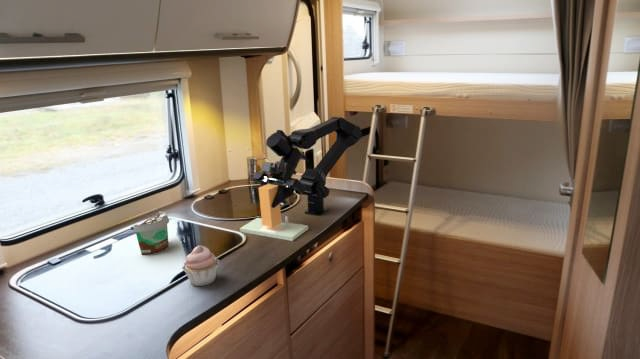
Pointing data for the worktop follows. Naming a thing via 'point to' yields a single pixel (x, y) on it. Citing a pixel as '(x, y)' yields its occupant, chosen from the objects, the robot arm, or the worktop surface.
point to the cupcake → (201, 266)
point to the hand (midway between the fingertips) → (267, 206)
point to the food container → (153, 234)
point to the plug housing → (269, 205)
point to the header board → (275, 229)
